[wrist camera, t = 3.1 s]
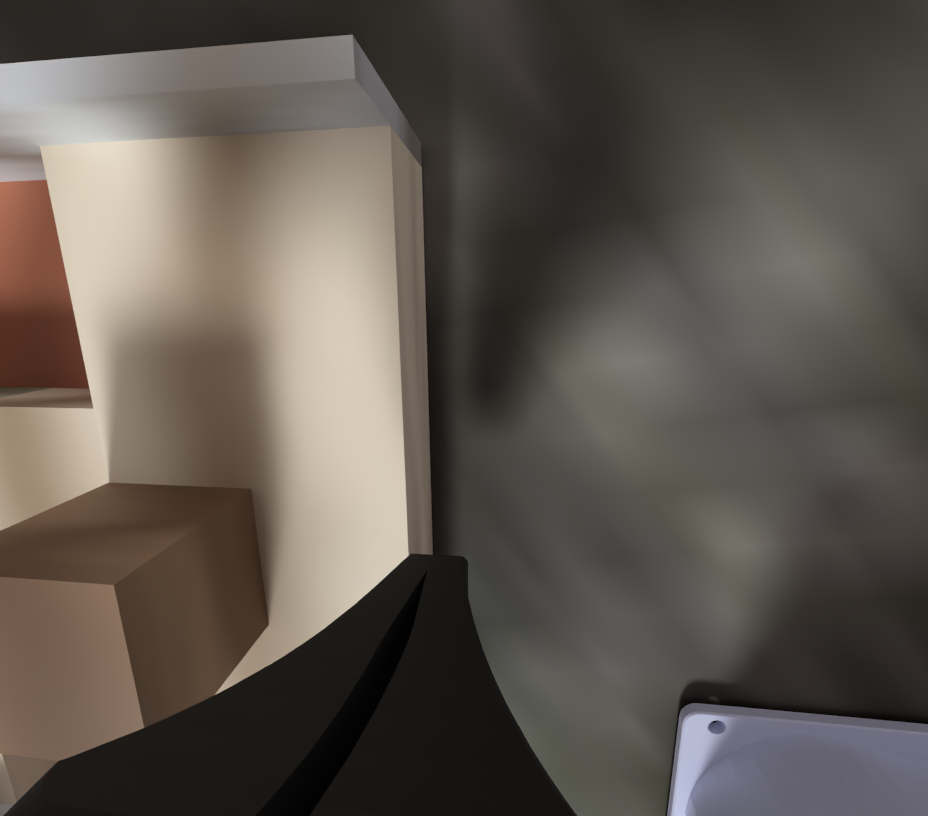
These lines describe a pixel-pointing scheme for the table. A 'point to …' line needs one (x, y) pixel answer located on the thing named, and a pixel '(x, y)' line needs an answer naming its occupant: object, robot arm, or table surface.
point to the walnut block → (123, 612)
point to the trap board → (220, 308)
